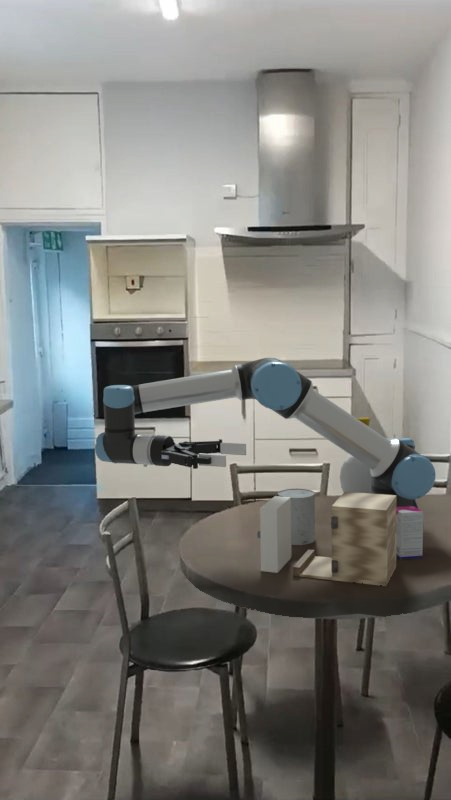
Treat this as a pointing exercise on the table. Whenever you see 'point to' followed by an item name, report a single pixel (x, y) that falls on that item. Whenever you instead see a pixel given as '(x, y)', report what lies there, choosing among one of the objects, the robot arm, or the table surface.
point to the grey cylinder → (301, 515)
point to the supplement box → (409, 532)
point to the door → (275, 533)
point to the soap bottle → (356, 472)
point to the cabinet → (357, 542)
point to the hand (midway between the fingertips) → (236, 455)
